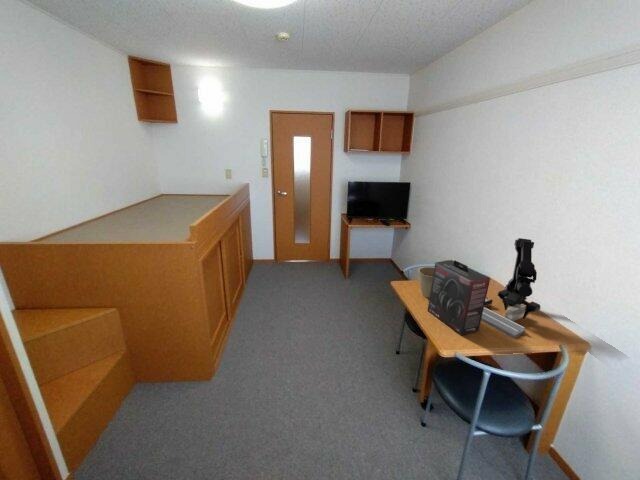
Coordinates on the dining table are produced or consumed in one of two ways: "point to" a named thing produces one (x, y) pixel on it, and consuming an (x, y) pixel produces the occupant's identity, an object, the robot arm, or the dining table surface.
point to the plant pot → (426, 280)
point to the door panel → (515, 312)
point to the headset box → (458, 296)
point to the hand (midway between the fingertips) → (514, 314)
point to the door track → (502, 323)
